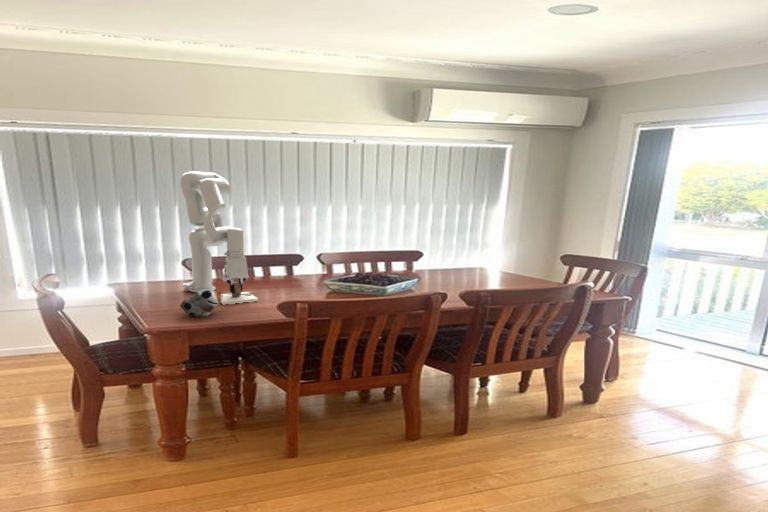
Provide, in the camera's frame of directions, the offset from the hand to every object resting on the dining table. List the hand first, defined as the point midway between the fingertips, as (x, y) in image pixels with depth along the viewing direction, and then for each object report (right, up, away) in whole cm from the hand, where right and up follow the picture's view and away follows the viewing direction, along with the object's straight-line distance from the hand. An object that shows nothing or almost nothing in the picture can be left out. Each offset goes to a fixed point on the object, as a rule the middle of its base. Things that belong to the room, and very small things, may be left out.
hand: (236, 292), depth 242 cm
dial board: (0, -4, +1) cm, 4 cm away
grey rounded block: (-7, -8, -26) cm, 28 cm away
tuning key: (+2, -2, +2) cm, 4 cm away
